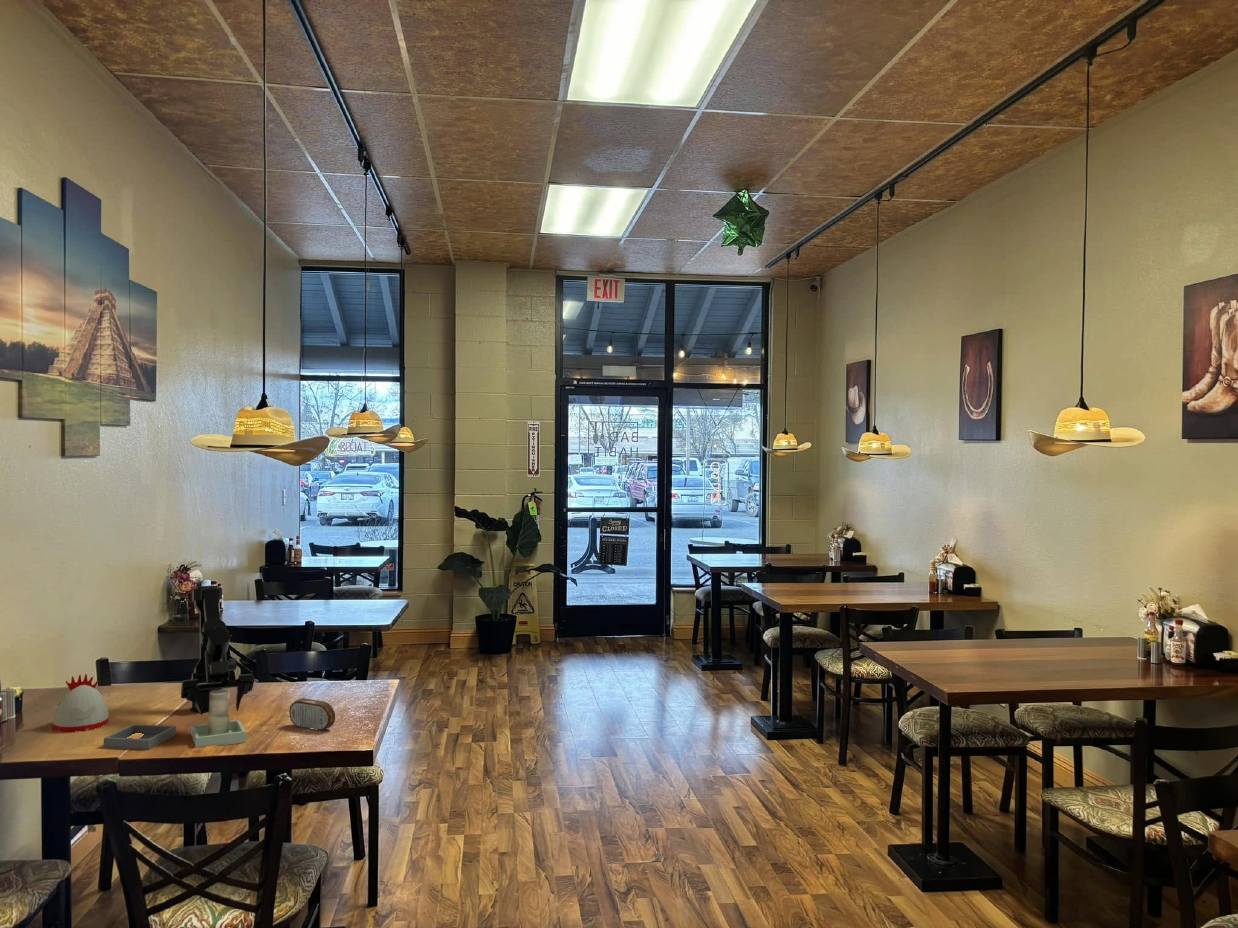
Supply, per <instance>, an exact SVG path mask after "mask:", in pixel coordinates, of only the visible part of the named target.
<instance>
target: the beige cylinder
mask: <svg viewBox="0 0 1238 928" xmlns="http://www.w3.org/2000/svg"><path fill="white" fill-rule="evenodd" d="M230 693H231V691H230V689H229V688H216V689H212V690H211V691H210V693H209V711H208V723H207V724H208V736H210V735H218V734H225V733H228V730H229V721H230V698H231V694H230Z"/></svg>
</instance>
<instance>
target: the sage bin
mask: <svg viewBox="0 0 1238 928" xmlns="http://www.w3.org/2000/svg"><path fill="white" fill-rule="evenodd" d="M190 734H191V738H192V741H193V744H194V746H195V748H201V747H210V746H217V747H221V746H228V745H229V746H230V745H237V744H244V743H247V742H246V741H247V731H246V730H245V727H244V725H243V723H242V722H241V719H233V720H229V730H228V733H225V734H218V735H210V736H208V723H200V724H195V725H194V724H193V725H191V729H190Z"/></svg>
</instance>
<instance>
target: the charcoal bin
mask: <svg viewBox="0 0 1238 928" xmlns="http://www.w3.org/2000/svg"><path fill="white" fill-rule="evenodd" d="M135 733H142V734H144V735H143V736H142V737H141V738H139V739H133V738H127V737H129V736H131V735H132V734H135ZM176 735H177V726H176V725H159V724H158V725H157V724H140V723H139V724H135V723H133V724H131V725H129V726H127V727H124V728H123V729H120V730H117V732H113V733H112V734H110V735H107V736H105V737H104V738H103V748H105V749H124V750H127V749H128V750H147V751H149V750H151V749H153V748H155V747H157V746H158V745H160V744H163V743H164V742H166V741H168V740H170V739H172V738H174V737H175V736H176Z"/></svg>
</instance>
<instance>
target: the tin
mask: <svg viewBox="0 0 1238 928" xmlns="http://www.w3.org/2000/svg"><path fill="white" fill-rule="evenodd" d="M288 710H289V719H290V722H291V723H292V724H293V725H294V726H295V727H297V726H298V727H297V728H299V727H303V728H302V729H305V728H314V729H317V730H323V731H325V730H328V729H330V728H331V727H332V726H333V725H334V724H335V722H336V721H335V720H336V714H335V713H336V712H335V710H334V708H333V707H332V705H331V704H330V703H328V702H327V701H324V700H318V699H311V698H304V697H303V698H298V699H297V700H295V701H294V702H293V703H292V704H291V705H290V707H289V709H288ZM327 728H328V729H327ZM317 730H316V731H317Z"/></svg>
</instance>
